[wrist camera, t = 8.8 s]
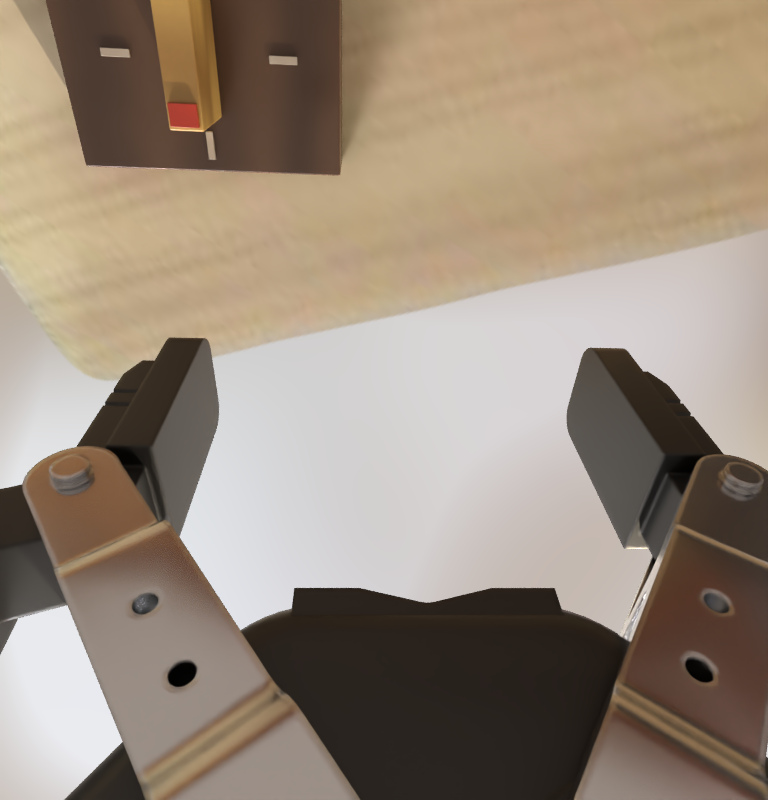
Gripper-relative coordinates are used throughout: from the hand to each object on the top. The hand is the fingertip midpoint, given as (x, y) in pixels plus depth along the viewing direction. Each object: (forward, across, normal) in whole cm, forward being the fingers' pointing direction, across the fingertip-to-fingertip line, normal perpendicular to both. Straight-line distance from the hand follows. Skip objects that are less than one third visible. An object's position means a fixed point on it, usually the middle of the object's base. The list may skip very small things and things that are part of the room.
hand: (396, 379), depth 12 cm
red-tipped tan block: (+23, +9, -4) cm, 25 cm away
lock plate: (+26, +9, -4) cm, 28 cm away
